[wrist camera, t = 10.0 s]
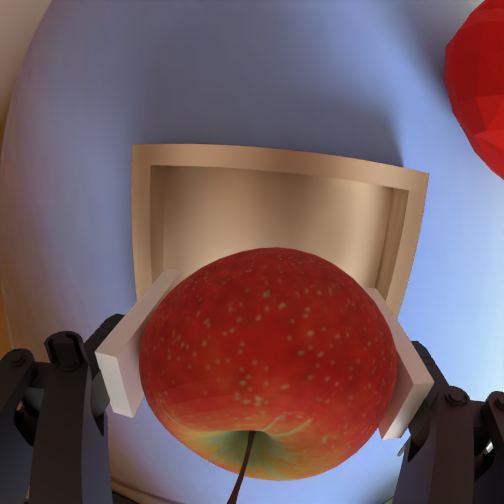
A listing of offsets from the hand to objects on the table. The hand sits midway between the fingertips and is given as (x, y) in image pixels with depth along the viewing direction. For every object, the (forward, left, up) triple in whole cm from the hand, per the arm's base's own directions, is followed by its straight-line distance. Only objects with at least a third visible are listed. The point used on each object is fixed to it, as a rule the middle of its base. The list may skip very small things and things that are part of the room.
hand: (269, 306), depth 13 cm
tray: (0, 0, -4) cm, 4 cm away
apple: (0, 0, -1) cm, 1 cm away
